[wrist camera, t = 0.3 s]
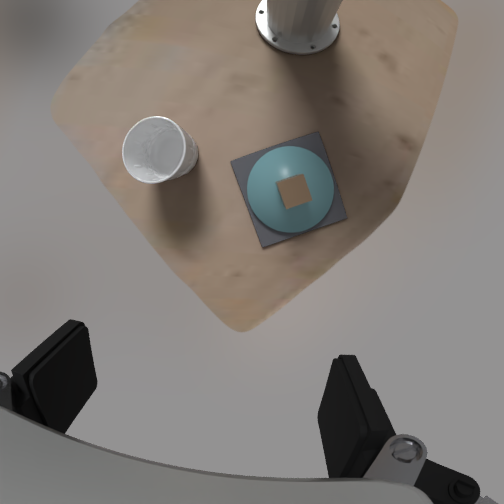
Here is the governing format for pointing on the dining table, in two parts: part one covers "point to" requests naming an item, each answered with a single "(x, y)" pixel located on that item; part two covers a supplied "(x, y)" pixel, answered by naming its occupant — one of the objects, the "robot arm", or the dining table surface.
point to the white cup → (158, 150)
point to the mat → (242, 173)
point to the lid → (290, 189)
